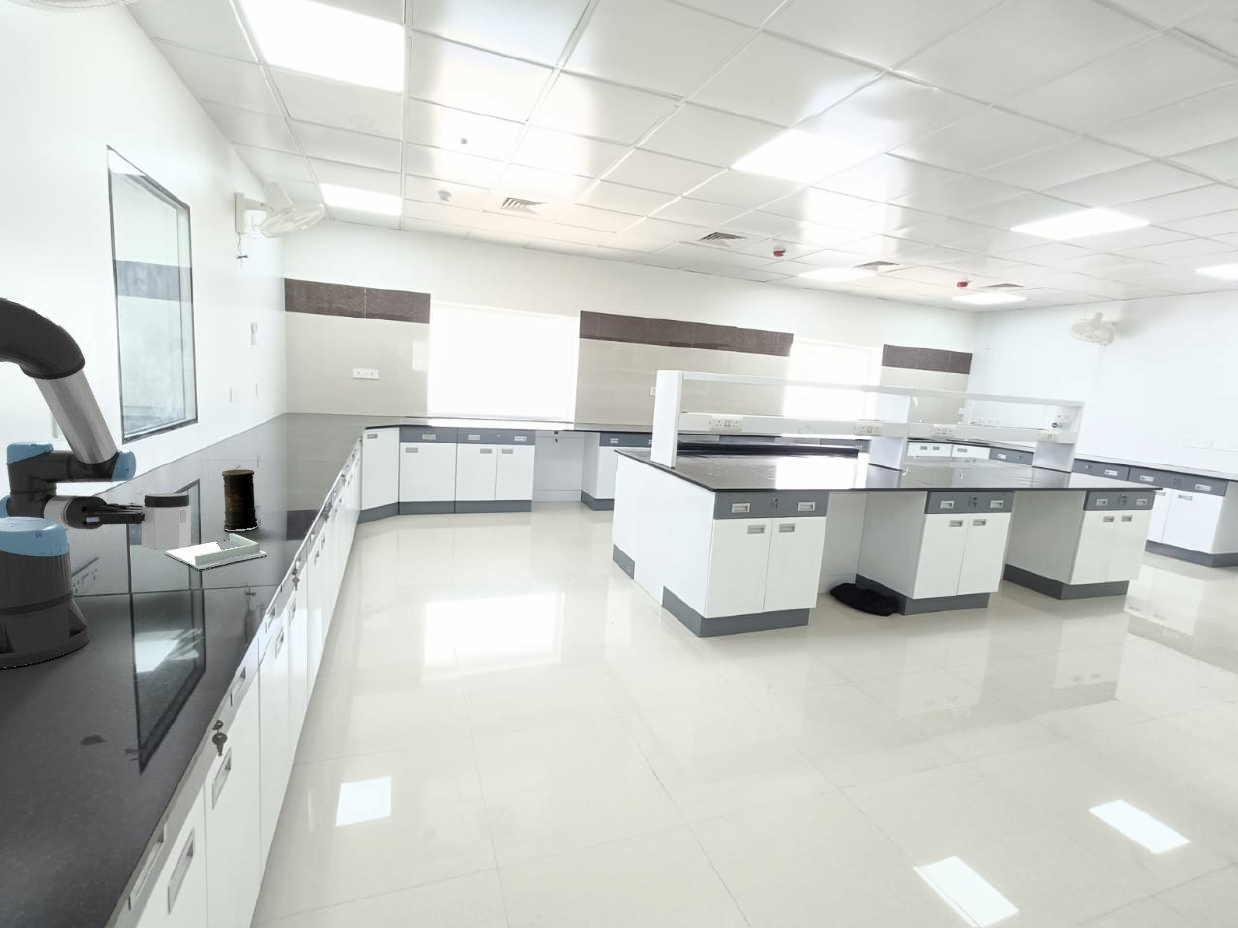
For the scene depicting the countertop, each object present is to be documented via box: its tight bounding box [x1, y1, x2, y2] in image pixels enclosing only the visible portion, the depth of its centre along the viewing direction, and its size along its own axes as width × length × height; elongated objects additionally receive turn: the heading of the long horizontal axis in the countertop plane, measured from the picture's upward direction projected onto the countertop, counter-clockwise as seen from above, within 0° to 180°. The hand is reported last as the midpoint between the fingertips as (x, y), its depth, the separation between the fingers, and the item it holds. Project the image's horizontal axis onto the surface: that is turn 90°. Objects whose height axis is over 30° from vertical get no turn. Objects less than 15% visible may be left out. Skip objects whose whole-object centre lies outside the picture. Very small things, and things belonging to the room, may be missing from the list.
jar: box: [141, 492, 192, 551], centre depth 136 cm, size 9×8×12 cm
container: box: [221, 468, 259, 530], centre depth 182 cm, size 9×9×18 cm
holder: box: [164, 532, 268, 569], centre depth 159 cm, size 20×16×3 cm
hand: (183, 516), depth 135 cm, fingers closed
